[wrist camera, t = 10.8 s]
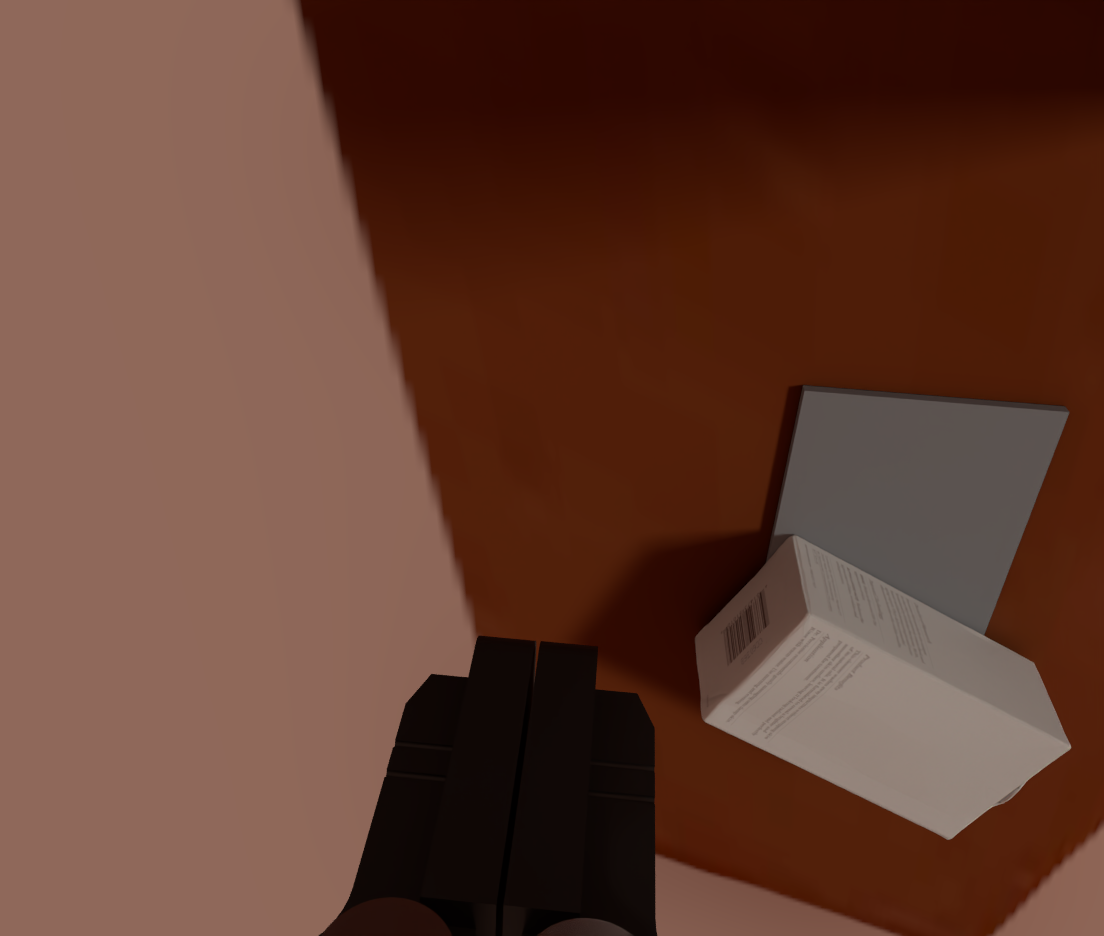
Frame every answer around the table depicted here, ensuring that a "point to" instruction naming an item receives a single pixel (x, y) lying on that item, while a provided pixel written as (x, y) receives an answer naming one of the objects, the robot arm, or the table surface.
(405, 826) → the robot arm
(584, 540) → the table surface
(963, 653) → the skincare box
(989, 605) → the flat gray panel
